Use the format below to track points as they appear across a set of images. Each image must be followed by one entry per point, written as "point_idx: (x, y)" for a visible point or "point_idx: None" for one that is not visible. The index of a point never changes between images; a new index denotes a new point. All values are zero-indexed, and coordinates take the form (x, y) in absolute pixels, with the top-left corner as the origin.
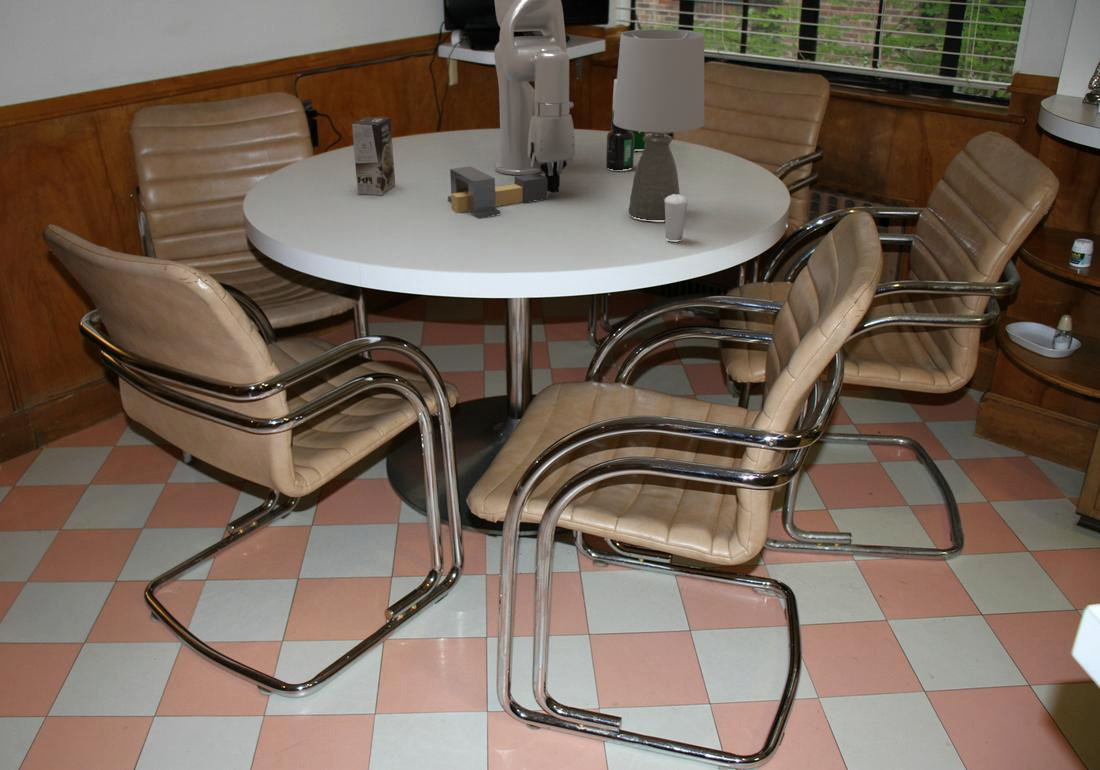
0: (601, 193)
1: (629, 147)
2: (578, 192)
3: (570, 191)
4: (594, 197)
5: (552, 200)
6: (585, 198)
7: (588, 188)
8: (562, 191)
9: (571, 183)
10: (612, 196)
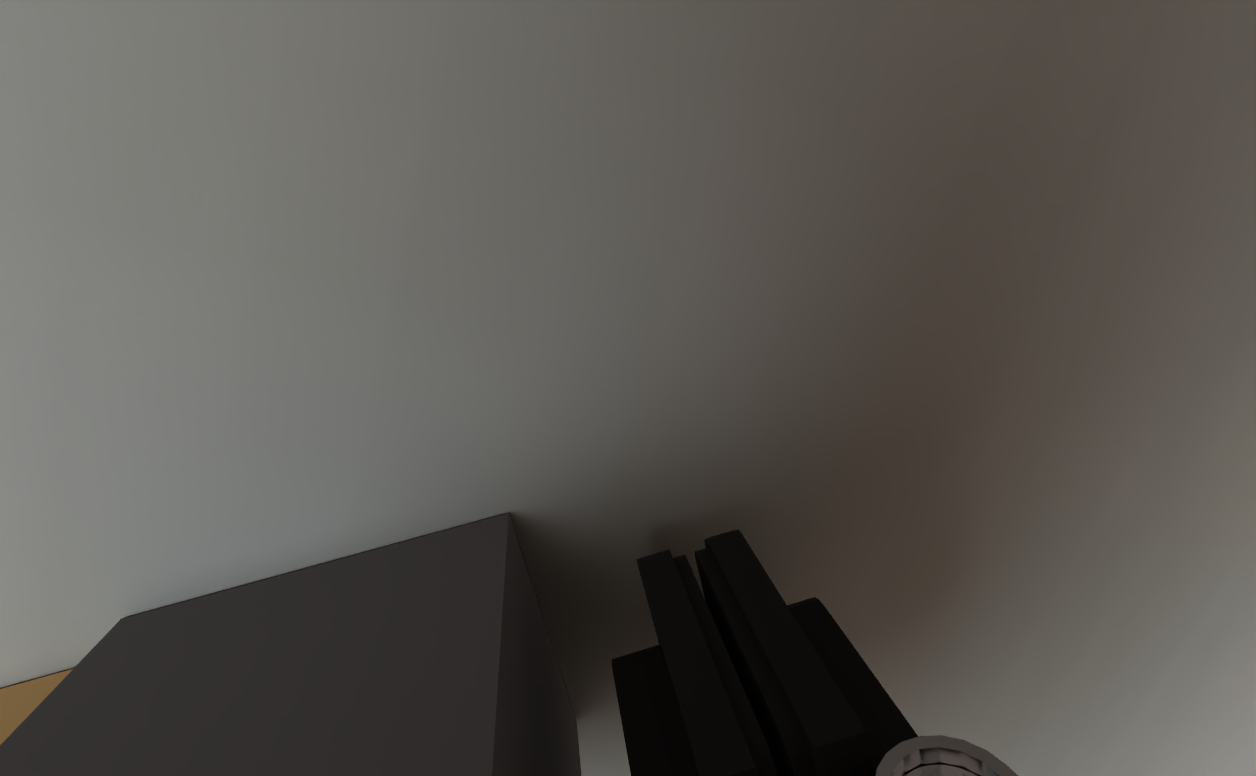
0: (1224, 602)
1: None
2: (1038, 512)
3: (976, 446)
4: (1081, 723)
5: (623, 761)
6: (985, 741)
7: (1233, 367)
8: (885, 420)
9: (1200, 14)
10: (1243, 717)
